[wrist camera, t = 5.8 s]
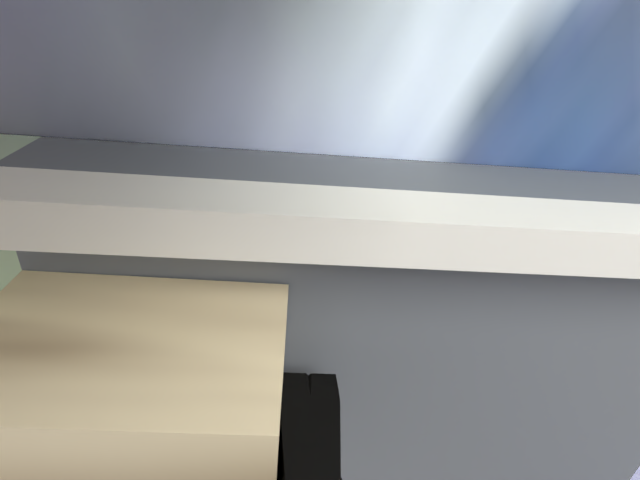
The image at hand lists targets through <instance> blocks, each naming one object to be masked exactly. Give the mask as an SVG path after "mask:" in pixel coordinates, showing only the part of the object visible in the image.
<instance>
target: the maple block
mask: <svg viewBox="0 0 640 480" xmlns="http://www.w3.org/2000/svg"><path fill="white" fill-rule="evenodd" d="M288 288H289V284H271V283H252V282H233V281H214V280H196V279H177V278H158V277H139V276H121V275H102V274H83V273H65V272H46V271H27V270H22V271H21V272H20V273H19V274H18V275H17V276H16V277H15V278H14V279H12V280H11V281H10V282H9V283H8V284H7V285H6V286H5V287H4V288H3V289H2V290H1V291H0V480H277V471H278V453H279V436H280V418H281V402H282V387H283V372H284V357H285V340H286V323H287V305H288Z"/></svg>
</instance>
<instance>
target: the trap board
mask: <svg viewBox="0 0 640 480" xmlns="http://www.w3.org/2000/svg"><path fill="white" fill-rule="evenodd" d="M22 270H27V271H46V272H65V273H83V274H102V275H121V276H139V277H158V278H177V279H196V280H214V281H233V282H252V283H271V284H289V288H288V305H287V323H286V340H285V357H284V372H287V373H306V374H307V375H309V374H311V373H318V374H336V378H337V384H338V389H339V396H340V431H341V478H342V480H630V479H631V477H632V476H633V474H634V473H635V472H636V470H637V469H638V467H639V466H640V175H632V174H616V173H601V172H585V171H569V170H554V169H538V168H523V167H507V166H492V165H476V164H461V163H445V162H430V161H414V160H398V159H383V158H367V157H352V156H336V155H321V154H305V153H290V152H274V151H259V150H243V149H227V148H212V147H196V146H181V145H165V144H150V143H134V142H119V141H103V140H88V139H72V138H56V137H41V136H25V135H10V134H0V291H1V290H2V289H3V288H4V287H5V286H6V285H7V284H8V283H9V282H10V281H11V280H12V279H14V278H15V277H16V276H17V275H18V274H19V273H20V272H21V271H22Z"/></svg>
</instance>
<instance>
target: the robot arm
mask: <svg viewBox="0 0 640 480" xmlns="http://www.w3.org/2000/svg"><path fill="white" fill-rule="evenodd" d="M277 480H342V478H341V431H340V396H339V389H338V384H337V378H336V374H318V373H311V374H309V375H307V374H306V373H287V372H283V387H282V402H281V418H280V436H279V453H278V471H277Z"/></svg>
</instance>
